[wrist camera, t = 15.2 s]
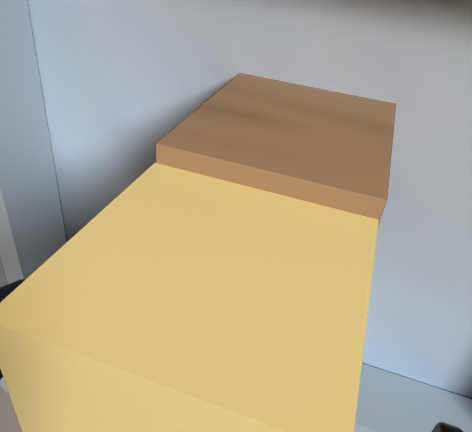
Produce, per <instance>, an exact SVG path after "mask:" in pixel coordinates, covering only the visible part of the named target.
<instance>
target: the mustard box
mask: <svg viewBox="0 0 472 432" xmlns="http://www.w3.org/2000/svg"><path fill="white" fill-rule="evenodd" d="M378 221H379V220H377V219H374V218H370V217H366V216H362V215H358V214H354V213H350V212H346V211H342V210H338V209H334V208H330V207H327V206H323V205H319V204H315V203H311V202H307V201H303V200H299V199H295V198H291V197H287V196H284V195H280V194H276V193H272V192H268V191H264V190H260V189H256V188H252V187H248V186H244V185H240V184H237V183H233V182H229V181H225V180H221V179H217V178H213V177H209V176H205V175H201V174H197V173H193V172H190V171H186V170H182V169H178V168H174V167H170V166H166V165H162V164H158V163H154V164H153V165H152V166H151V167H150V168H148V169H147V170H146V171H145V172H144V173H143V174H142V175H141V176H140V177H139V178H137V179H136V180H135V181H134V182H133V183H132V184H131V185H130V186H129V187H127V188H126V189H125V190H124V191H123V192H122V193H121V194H120V195H119V196H118V197H116V198H115V199H114V200H113V201H112V202H111V203H110V204H109V205H108V206H106V207H105V208H104V209H103V210H102V211H101V212H100V213H99V214H98V215H97V216H95V217H94V218H93V219H92V220H91V221H90V222H89V223H88V224H87V225H85V226H84V227H83V228H82V229H81V230H80V231H79V232H78V233H77V234H76V235H74V236H73V237H72V238H71V239H70V240H69V241H68V242H67V243H66V244H65V245H63V246H62V247H61V248H60V249H59V250H58V251H57V252H56V253H55V254H53V255H52V256H51V257H50V258H49V259H48V260H47V261H46V262H45V263H44V264H42V265H41V266H40V267H39V268H38V269H37V270H36V271H35V272H34V273H32V274H31V275H30V276H29V277H28V278H27V279H26V280H25V281H24V282H23V283H21V284H20V285H19V286H18V287H17V288H16V289H15V290H14V291H13V292H12V293H10V294H9V295H8V296H7V297H6V298H5V299H4V300H3V301H2V302H0V369H1V372H2V375H3V378H4V380H5V383H6V386H7V389H8V392H9V395H10V397H11V400H12V403H13V406H14V409H15V412H16V415H17V418H18V421H19V423H20V426H21V429H22V432H354V427H355V419H356V410H357V401H358V393H359V384H360V376H361V367H362V358H363V350H364V341H365V333H366V324H367V315H368V307H369V298H370V290H371V281H372V272H373V264H374V255H375V247H376V238H377V229H378Z"/></svg>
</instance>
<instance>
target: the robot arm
mask: <svg viewBox="0 0 472 432" xmlns="http://www.w3.org/2000/svg"><path fill="white" fill-rule="evenodd" d="M25 280H26V279H20V280H17V281H15V282H12V283H10V284H8V285H5V286H3V287H0V302H2V301H3V300H4V299H5V298H6V297H7V296H8V295H9V294H10V293H12V292H13V291H14V290H15V289H16V288H17V287H18V286H19V285H20V284H21V283H23V282H24V281H25ZM2 377H3V375H2V372H1V369H0V380H1V379H2ZM431 432H463V431H462V430H461V429H460V428H459V427H456V426H453V425H450V424H447V423H445V422H438V423H437V424H436V425H435V427H434V428H433V430H432V431H431Z"/></svg>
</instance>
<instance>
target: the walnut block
mask: <svg viewBox="0 0 472 432" xmlns="http://www.w3.org/2000/svg"><path fill="white" fill-rule="evenodd" d="M395 111H396V104H394V103H389V102H384V101H379V100H374V99H369V98H363V97H358V96H353V95H348V94H343V93H338V92H333V91H328V90H323V89H318V88H313V87H308V86H303V85H297V84H292V83H287V82H282V81H277V80H272V79H267V78H262V77H257V76H252V75H247V74H242V73H240V74H239V75H237V76H236V77H235V78H234V79H233V80H231V81H230V82H229V83H228V84H227V85H225V86H224V87H223V88H222V89H221V90H219V91H218V92H217V93H216V94H215V95H214V96H212V97H211V98H210V99H209V100H208V101H206V102H205V103H204V104H203V105H202V106H200V107H199V108H198V109H197V110H196V111H194V112H193V113H192V114H191V115H190V116H188V117H187V118H186V119H185V120H184V121H182V122H181V123H180V124H179V125H178V126H176V127H175V128H174V129H173V130H172V131H170V132H169V133H168V134H167V135H166V136H164V137H163V138H162V139H161V140H160V141H158V142H157V143H156V163H158V164H162V165H166V166H170V167H174V168H178V169H182V170H186V171H190V172H193V173H197V174H201V175H205V176H209V177H213V178H217V179H221V180H225V181H229V182H233V183H237V184H240V185H244V186H248V187H252V188H256V189H260V190H264V191H268V192H272V193H276V194H280V195H284V196H287V197H291V198H295V199H299V200H303V201H307V202H311V203H315V204H319V205H323V206H327V207H330V208H334V209H338V210H342V211H346V212H350V213H354V214H358V215H362V216H366V217H370V218H374V219H377V220H379V221H378V225H379V222H380V219H381V217H382V214H383V211H384V208H385V205H386V202H387V197H388V186H389V176H390V165H391V154H392V143H393V132H394V121H395Z"/></svg>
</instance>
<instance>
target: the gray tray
mask: <svg viewBox="0 0 472 432" xmlns="http://www.w3.org/2000/svg"><path fill="white" fill-rule="evenodd" d="M66 243H67V241H66V235H65V229H64V222H63V216H62V210H61V204H60V198H59V192H58V186H57V179H56V173H55V167H54V161H53V155H52V149H51V143H50V137H49V130H48V124H47V118H46V112H45V106H44V100H43V94H42V87H41V81H40V75H39V69H38V63H37V57H36V51H35V45H34V38H33V32H32V26H31V20H30V14H29V8H28V2H27V0H0V258H1V262H2V265H3V269H4V273H5V276H6V280H7V283H8V284H10V283H12V282H15V281H17V280H20V279H27V278H28V277H29V276H30V275H31V274H32V273H34V272H35V271H36V270H37V269H38V268H39V267H40V266H41V265H42V264H44V263H45V262H46V261H47V260H48V259H49V258H50V257H51V256H52V255H53V254H55V253H56V252H57V251H58V250H59V249H60V248H61V247H62V246H63V245H65V244H66ZM438 422H445V423H447V424H450V425H453V426H456V427H459V428H460V429H461V430H462V431H463V432H472V399H470V398H467V397H464V396H461V395H458V394H455V393H451V392H448V391H445V390H442V389H439V388H436V387H433V386H430V385H427V384H424V383H421V382H418V381H415V380H412V379H409V378H406V377H403V376H400V375H396V374H393V373H390V372H387V371H384V370H381V369H378V368H375V367H372V366H369V365H366V364H363V363H362V367H361V376H360V384H359V393H358V401H357V410H356V419H355V427H354V432H431V431H432V430H433V428H434V427H435V425H436V424H437V423H438Z"/></svg>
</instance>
